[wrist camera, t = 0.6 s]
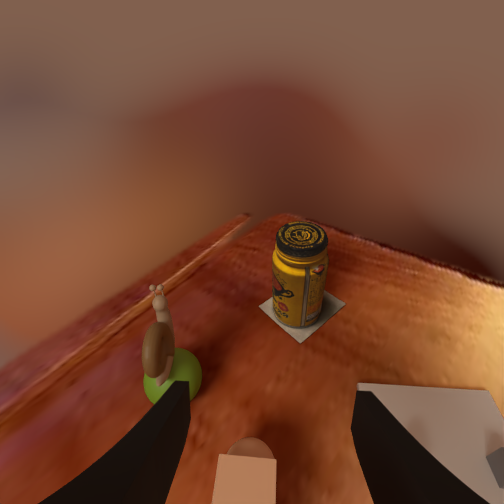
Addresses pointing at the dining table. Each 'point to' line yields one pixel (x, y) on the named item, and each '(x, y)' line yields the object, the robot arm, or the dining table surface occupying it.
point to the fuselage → (246, 474)
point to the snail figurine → (166, 355)
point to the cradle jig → (453, 431)
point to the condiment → (300, 280)
